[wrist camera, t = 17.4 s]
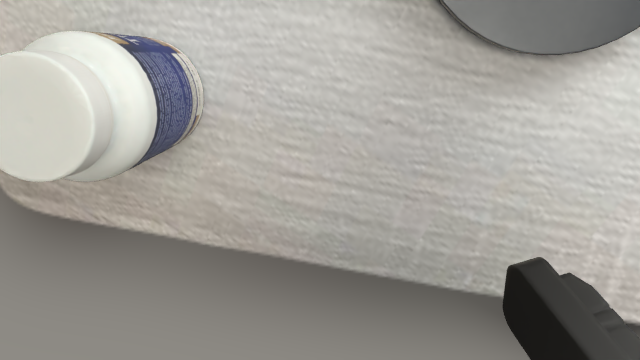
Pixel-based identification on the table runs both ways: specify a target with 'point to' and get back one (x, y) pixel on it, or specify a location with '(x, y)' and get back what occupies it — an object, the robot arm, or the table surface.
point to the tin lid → (547, 23)
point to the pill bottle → (93, 105)
